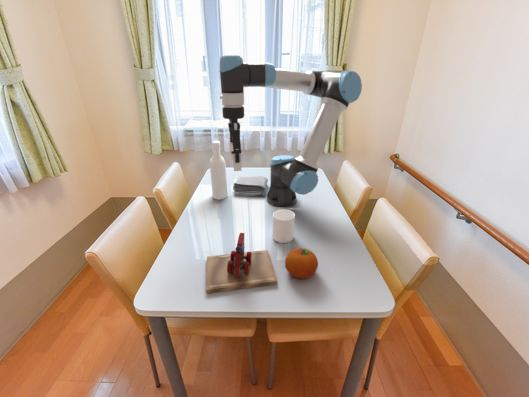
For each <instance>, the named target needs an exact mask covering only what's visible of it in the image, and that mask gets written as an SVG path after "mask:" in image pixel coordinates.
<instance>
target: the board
mask: <svg viewBox="0 0 529 397" xmlns="http://www.w3.org/2000/svg"><path fill="white" fill-rule="evenodd" d="M247 252H248V251H246V252H245V251H244V256H246V255H247ZM250 252H251V253H252V258H251V264H250V266H249V274H244V269H241V273H240V276H235V271H233V273H227V265H228V261H230V257H231V253H228V254H220V255H210V256H206V280H205V281H206V283H205V287H206V288H205V292H206V294H214V293H220V292H228V291H238V290H243V289H244V290H245V289H250V288H251V289H252V288H260V287H268V286H275V285H278V278H277V275H276V272H275V269H274V265H273V262H272V259H271V256H270V253H269V250H268V249H266V250H264V249H263V250H258V251H257V250H256V251H250ZM243 260H244V263H245V261H246V259H243Z"/></svg>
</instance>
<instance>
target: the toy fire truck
mask: <svg viewBox="0 0 529 397" xmlns="http://www.w3.org/2000/svg"><path fill="white" fill-rule="evenodd" d="M238 234H239V235H238V237H237V238H238V239H237V243H236V246H235V250H231V252H230V254H231V257H230V261H228V265H227V273H233V271H235V276H240V273H241V269H244V274H249V266H250V264H251V258H252V253H251V252H252V251H246V252H247V255H246V256H244V253H245V247H246V246H245V232H240V233H238ZM243 259H246V261H245V263H244V260H243Z"/></svg>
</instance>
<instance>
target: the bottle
mask: <svg viewBox="0 0 529 397" xmlns="http://www.w3.org/2000/svg"><path fill="white" fill-rule="evenodd" d="M211 146H212V153H213V154H212V156H211V157H210V160H209V167H210V168H209V170H210V180H211V192H212V198H213V199H215V200H224V199H226V198H228V194H229V193H228V183H227V182H228V180H227V166H226V164H227V162H226V161H225V158H224V157H223V156H222V154H221V153H222V152H221V142H220V140H213V141H212V142H211Z"/></svg>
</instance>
